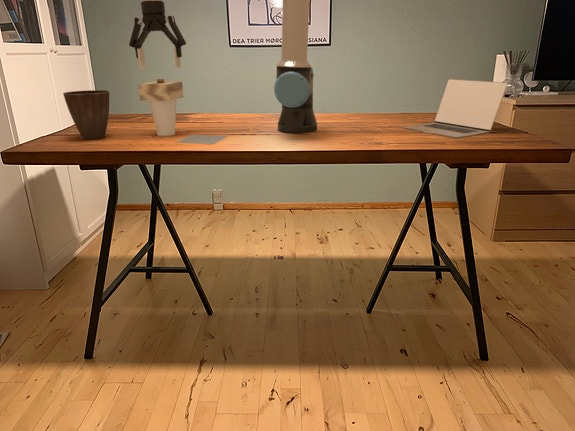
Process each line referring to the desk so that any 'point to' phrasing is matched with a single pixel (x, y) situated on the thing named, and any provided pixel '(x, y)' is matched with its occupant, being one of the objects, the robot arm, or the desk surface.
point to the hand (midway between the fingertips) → (160, 68)
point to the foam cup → (164, 116)
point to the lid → (160, 91)
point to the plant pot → (89, 112)
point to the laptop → (465, 109)
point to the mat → (202, 139)
